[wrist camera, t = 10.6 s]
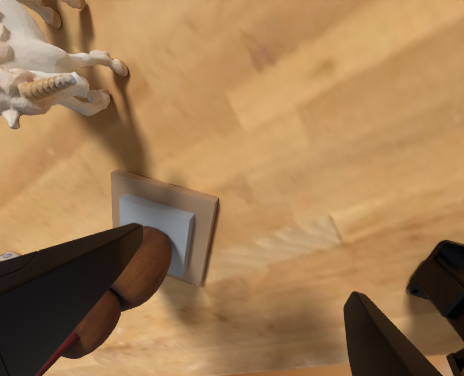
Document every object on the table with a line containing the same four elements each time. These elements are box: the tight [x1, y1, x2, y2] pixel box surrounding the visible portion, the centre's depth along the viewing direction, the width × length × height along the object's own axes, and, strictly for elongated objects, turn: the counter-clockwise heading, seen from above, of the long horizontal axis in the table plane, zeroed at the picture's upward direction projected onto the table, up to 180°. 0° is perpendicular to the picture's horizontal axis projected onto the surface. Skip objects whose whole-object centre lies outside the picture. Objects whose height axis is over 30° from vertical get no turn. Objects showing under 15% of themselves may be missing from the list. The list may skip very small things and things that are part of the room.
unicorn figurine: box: [0, 0, 128, 129], centre depth 14 cm, size 7×20×13 cm, turn 52°
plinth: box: [111, 170, 219, 287], centre depth 25 cm, size 12×12×2 cm
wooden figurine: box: [35, 226, 172, 376], centre depth 17 cm, size 7×6×15 cm
